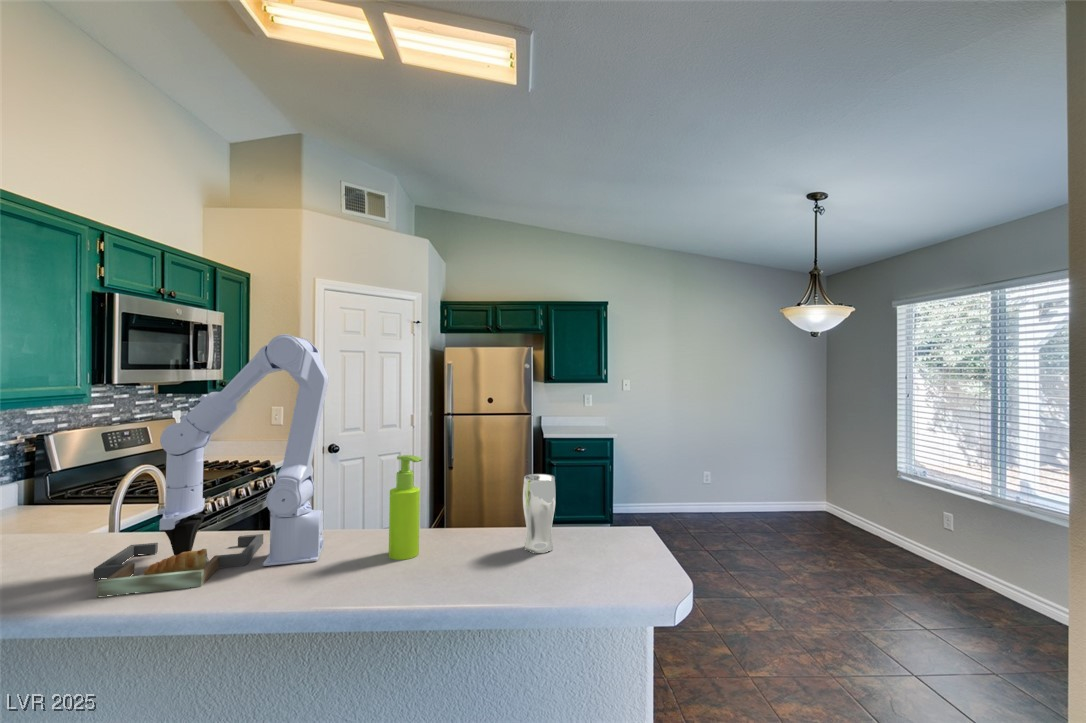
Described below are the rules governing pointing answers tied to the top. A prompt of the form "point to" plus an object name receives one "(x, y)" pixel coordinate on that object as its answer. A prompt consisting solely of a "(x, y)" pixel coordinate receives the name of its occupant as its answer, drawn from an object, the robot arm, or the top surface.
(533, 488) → the beer glass
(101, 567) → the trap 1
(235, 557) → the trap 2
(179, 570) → the pastry
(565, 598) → the top surface
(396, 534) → the soap dispenser
